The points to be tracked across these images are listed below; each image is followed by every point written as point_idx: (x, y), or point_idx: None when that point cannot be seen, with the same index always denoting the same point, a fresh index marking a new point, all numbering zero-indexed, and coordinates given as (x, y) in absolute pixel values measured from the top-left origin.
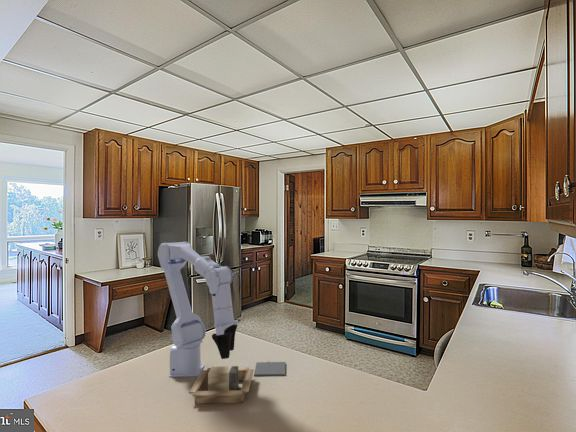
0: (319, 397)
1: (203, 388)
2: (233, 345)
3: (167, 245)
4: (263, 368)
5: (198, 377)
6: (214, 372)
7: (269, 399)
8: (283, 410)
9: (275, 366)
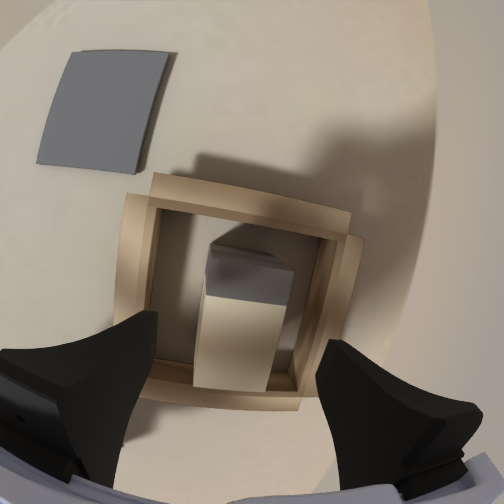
0: (334, 15)
1: None
2: (146, 324)
3: None
4: (92, 132)
5: (194, 404)
6: (260, 369)
7: (324, 139)
8: (383, 118)
9: (92, 84)
